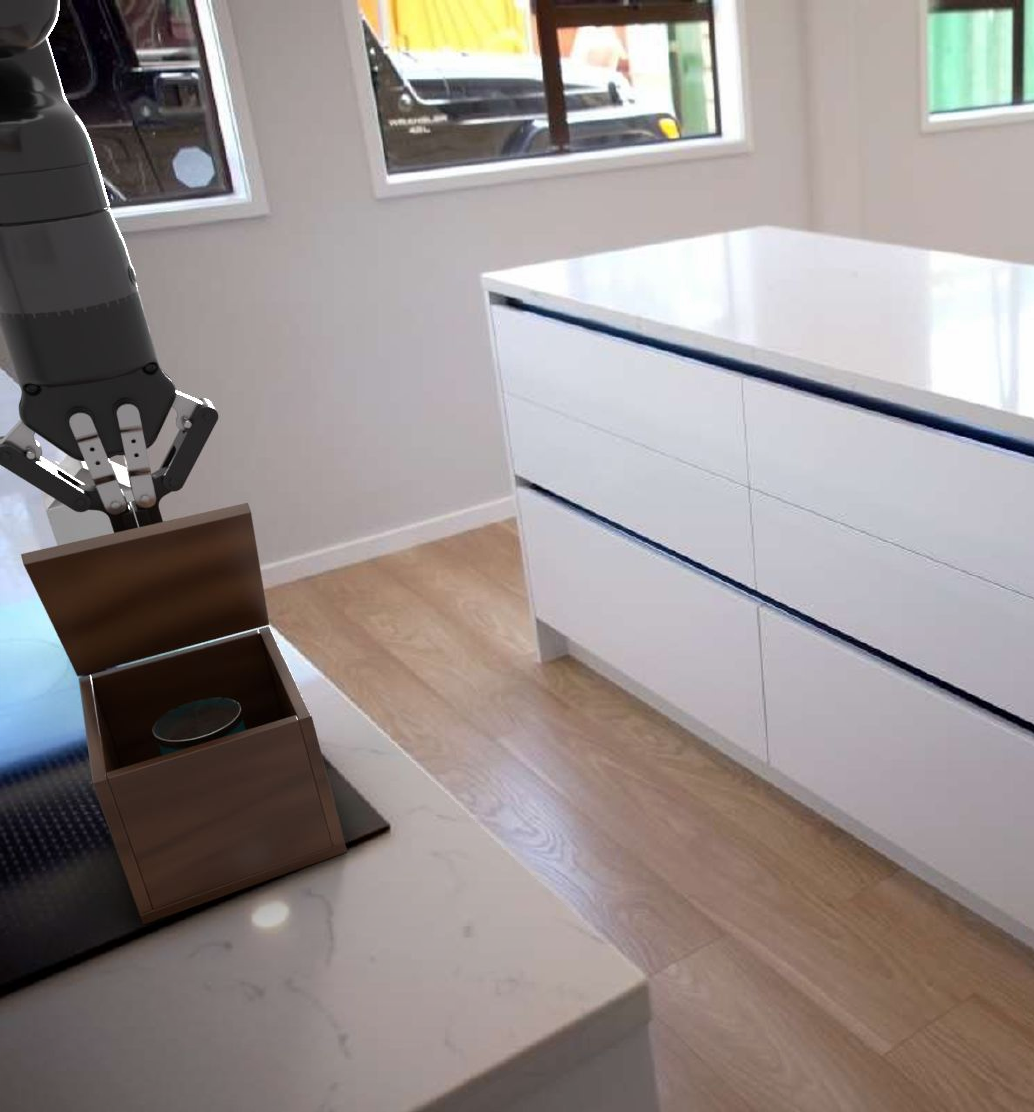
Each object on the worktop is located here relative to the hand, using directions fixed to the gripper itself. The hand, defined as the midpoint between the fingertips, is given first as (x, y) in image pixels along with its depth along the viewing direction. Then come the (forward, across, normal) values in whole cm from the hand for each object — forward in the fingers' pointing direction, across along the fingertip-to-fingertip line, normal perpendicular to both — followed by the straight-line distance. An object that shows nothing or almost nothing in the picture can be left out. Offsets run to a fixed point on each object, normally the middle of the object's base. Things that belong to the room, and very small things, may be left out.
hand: (147, 559), depth 82 cm
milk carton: (+21, +3, -36) cm, 41 cm away
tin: (+20, 0, +3) cm, 20 cm away
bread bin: (+20, 0, +2) cm, 20 cm away
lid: (+3, 0, -1) cm, 3 cm away
